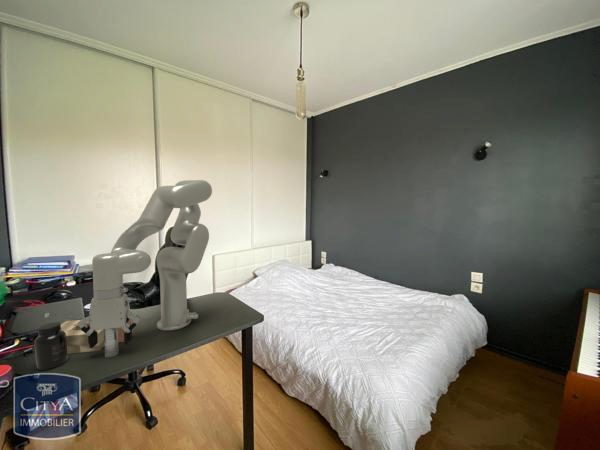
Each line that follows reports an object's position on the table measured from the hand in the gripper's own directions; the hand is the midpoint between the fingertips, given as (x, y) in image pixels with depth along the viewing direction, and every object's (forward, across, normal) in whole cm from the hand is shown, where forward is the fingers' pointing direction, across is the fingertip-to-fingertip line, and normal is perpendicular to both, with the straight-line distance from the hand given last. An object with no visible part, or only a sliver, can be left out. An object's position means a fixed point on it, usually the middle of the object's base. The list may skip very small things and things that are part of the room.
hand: (110, 344), depth 81 cm
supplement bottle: (+4, +15, +2) cm, 15 cm away
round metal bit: (+4, 0, 0) cm, 4 cm away
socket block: (+4, +13, -9) cm, 16 cm away
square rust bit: (+3, +1, -10) cm, 11 cm away
